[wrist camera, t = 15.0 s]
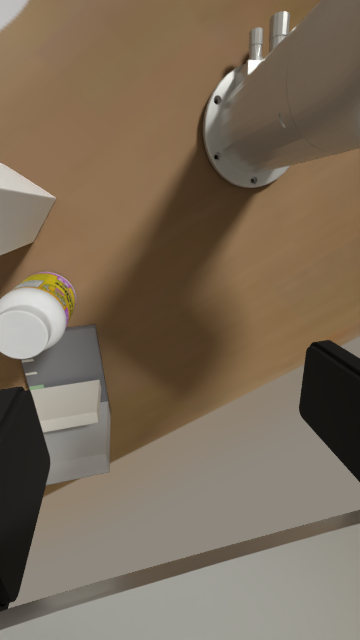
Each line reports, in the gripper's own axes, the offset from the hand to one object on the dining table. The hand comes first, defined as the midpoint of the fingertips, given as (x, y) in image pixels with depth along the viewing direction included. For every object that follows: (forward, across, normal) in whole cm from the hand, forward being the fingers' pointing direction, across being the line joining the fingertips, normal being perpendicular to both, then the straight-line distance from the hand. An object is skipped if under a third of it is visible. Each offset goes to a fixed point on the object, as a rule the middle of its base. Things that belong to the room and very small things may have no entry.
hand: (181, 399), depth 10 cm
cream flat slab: (+28, +12, +17) cm, 35 cm away
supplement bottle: (+31, +11, +4) cm, 33 cm away
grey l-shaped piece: (+30, +11, +16) cm, 36 cm away
